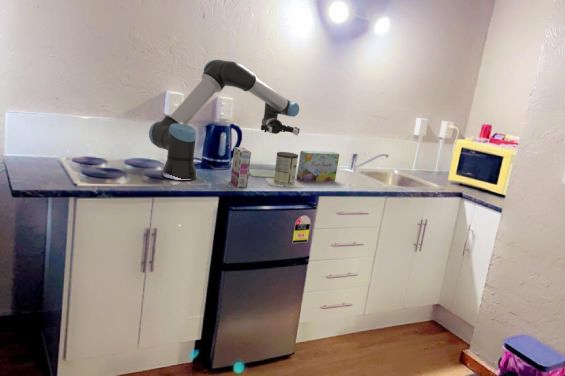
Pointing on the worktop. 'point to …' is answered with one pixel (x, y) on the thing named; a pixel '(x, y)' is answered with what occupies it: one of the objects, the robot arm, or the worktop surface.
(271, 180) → the tile
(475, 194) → the worktop surface
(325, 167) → the snack box
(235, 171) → the candy bar box
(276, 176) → the coffee can
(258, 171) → the sage board
